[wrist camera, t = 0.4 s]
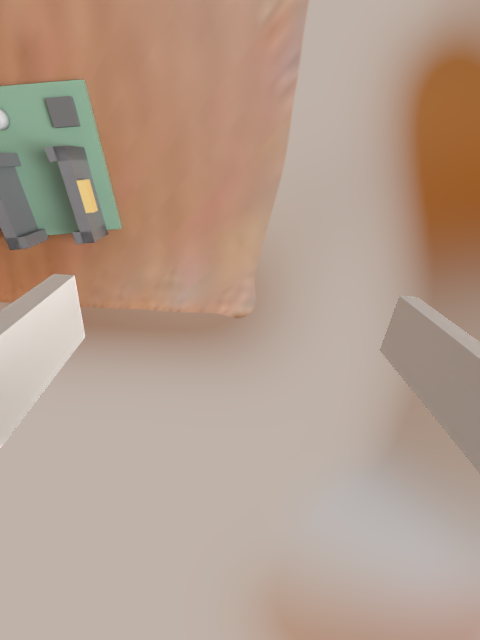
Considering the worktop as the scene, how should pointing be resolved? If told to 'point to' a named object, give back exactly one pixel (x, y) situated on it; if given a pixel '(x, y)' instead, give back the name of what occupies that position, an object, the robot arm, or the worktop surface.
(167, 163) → the worktop surface
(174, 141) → the worktop surface
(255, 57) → the worktop surface
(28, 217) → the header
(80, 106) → the board
